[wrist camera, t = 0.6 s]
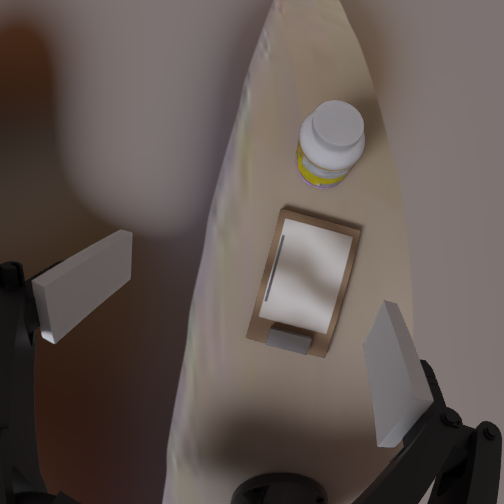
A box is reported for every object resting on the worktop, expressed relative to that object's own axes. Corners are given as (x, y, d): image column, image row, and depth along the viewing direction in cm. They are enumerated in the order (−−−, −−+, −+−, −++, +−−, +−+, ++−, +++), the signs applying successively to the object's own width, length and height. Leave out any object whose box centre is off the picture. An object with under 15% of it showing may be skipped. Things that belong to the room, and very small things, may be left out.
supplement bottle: (314, 131, 37) (328, 78, 25) (356, 161, 37) (387, 119, 24) (284, 169, 38) (286, 126, 25) (327, 200, 37) (350, 171, 24)
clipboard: (323, 355, 36) (326, 361, 34) (246, 335, 37) (244, 340, 35) (358, 231, 36) (363, 229, 34) (280, 209, 37) (280, 206, 35)
